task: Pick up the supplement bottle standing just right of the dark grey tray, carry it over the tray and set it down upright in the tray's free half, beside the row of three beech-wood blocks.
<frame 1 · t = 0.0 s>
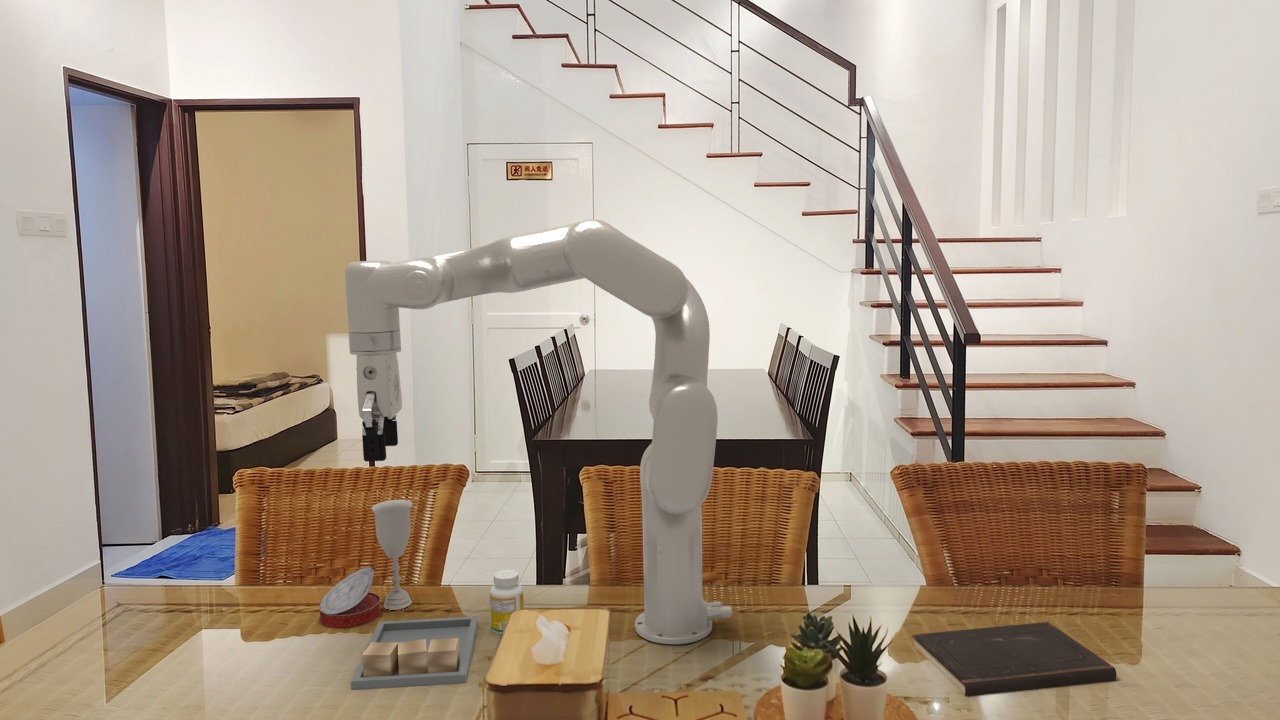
hand: (381, 452, 136), 31 cm above the table, tool pointing down, fingers open, 9 cm apart
supplement bottle: (508, 631, 145), on the table
block a: (444, 670, 130), point 1 cm above the table, touching tray
hardcover book: (1009, 666, 131), on the table
block c: (382, 674, 129), point 1 cm above the table, touching block b, tray
chalice: (397, 605, 156), on the table
tray: (419, 657, 135), on the table
block b: (413, 672, 129), point 1 cm above the table, touching block c, tray
canned food: (350, 621, 150), on the table
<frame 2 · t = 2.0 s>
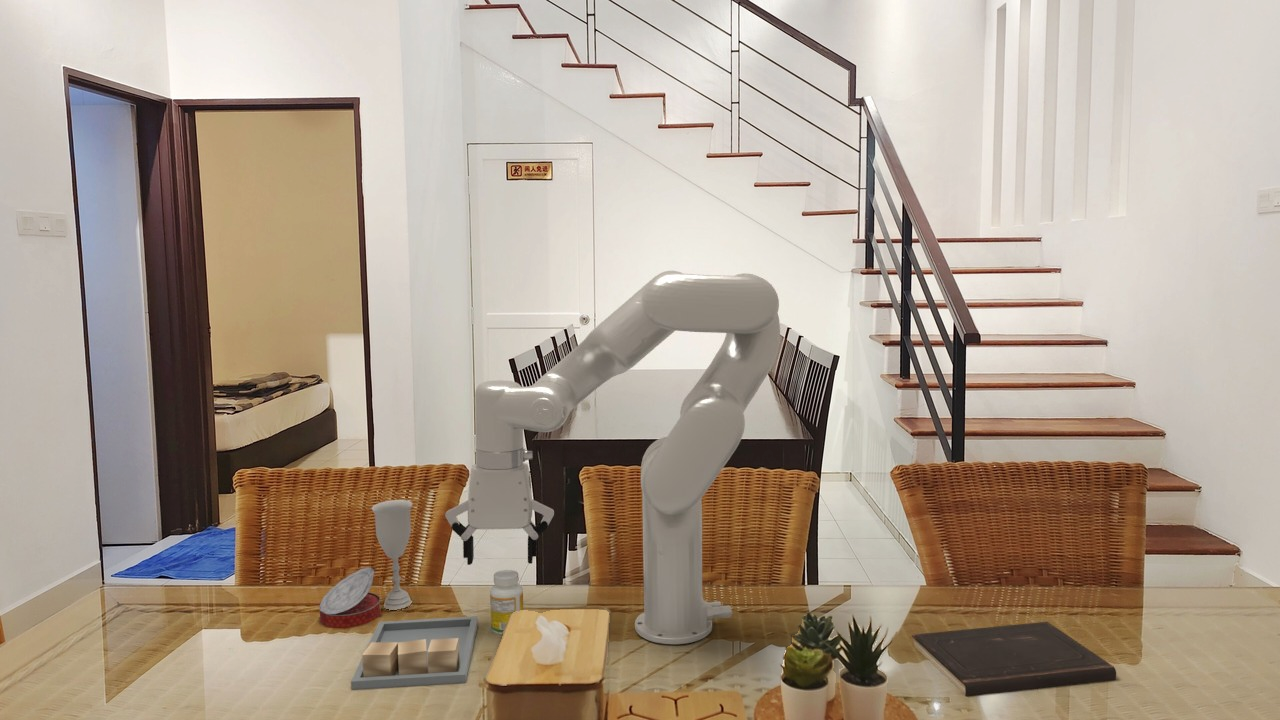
hand: (500, 561, 143), 12 cm above the table, tool pointing down, fingers open, 9 cm apart
nothing on the table moved.
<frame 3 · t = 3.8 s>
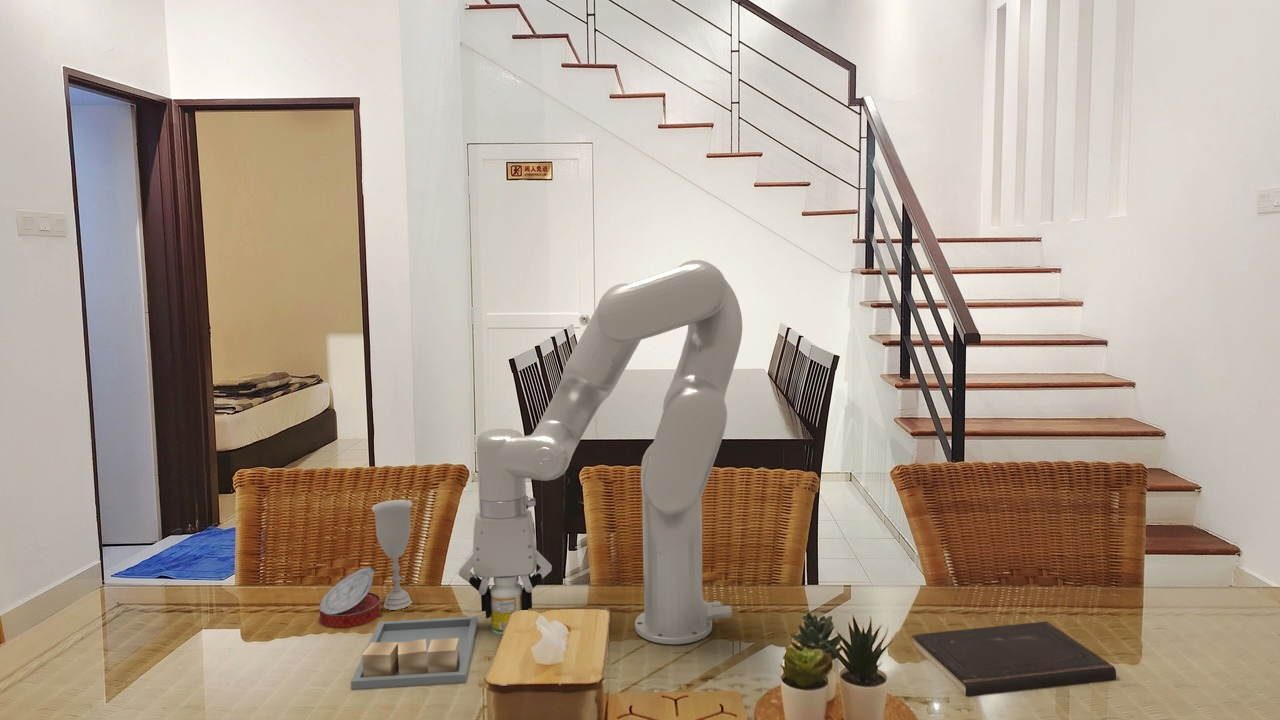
hand: (507, 612, 144), 3 cm above the table, tool pointing down, fingers closed on supplement bottle, 5 cm apart
supplement bottle: (508, 631, 145), on the table, touching gripper
everything else where it was.
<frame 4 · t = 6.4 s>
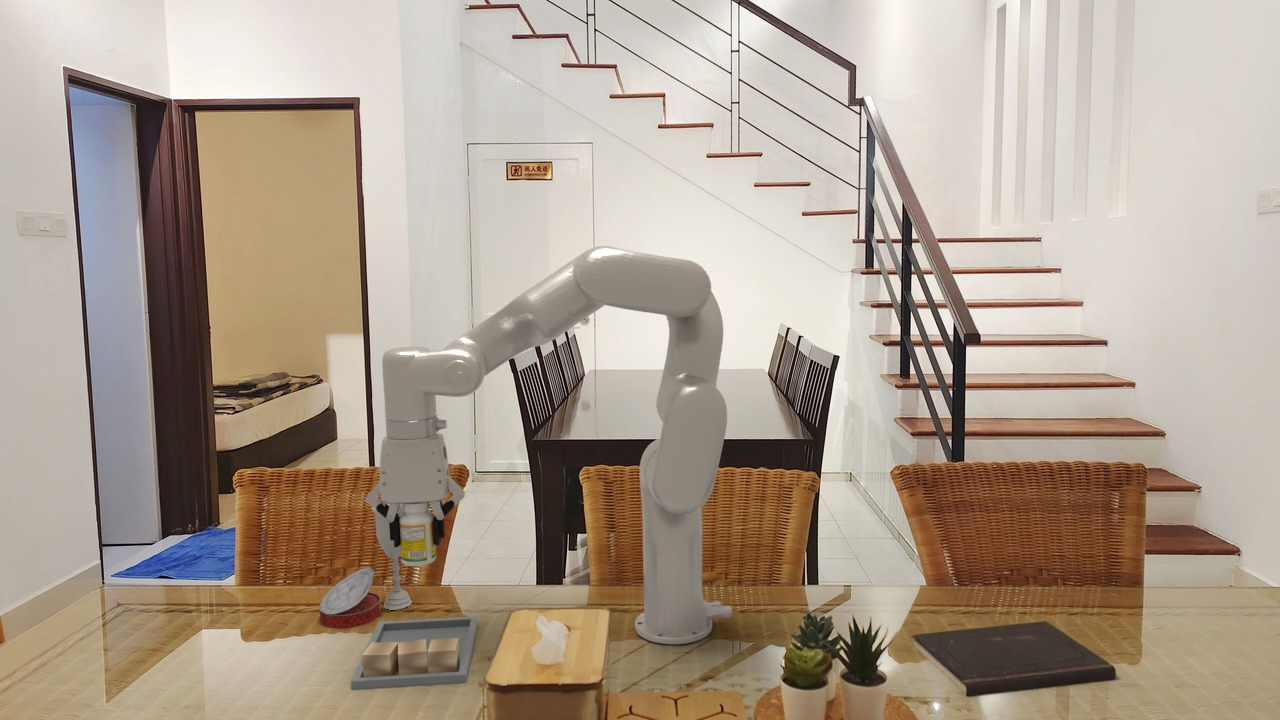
hand: (418, 542, 136), 17 cm above the table, tool pointing down, fingers closed on supplement bottle, 5 cm apart
supplement bottle: (419, 561, 137), point 14 cm above the table, touching gripper
everything else where it was.
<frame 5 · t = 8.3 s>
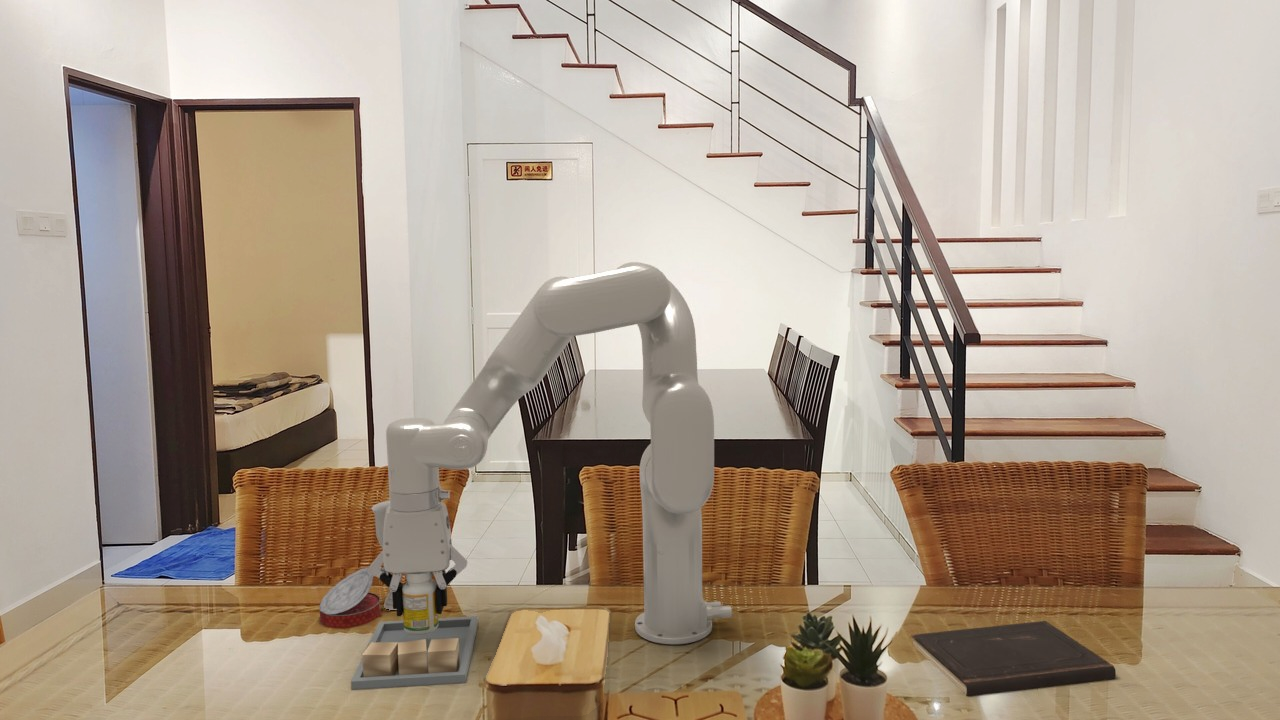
hand: (420, 610, 138), 6 cm above the table, tool pointing down, fingers closed on supplement bottle, 5 cm apart
supplement bottle: (421, 629, 138), point 3 cm above the table, touching gripper
everything else where it was.
when the fingers open (5 cm above the table, at t = 9.5 s): supplement bottle drops 1 cm, resting on tray.
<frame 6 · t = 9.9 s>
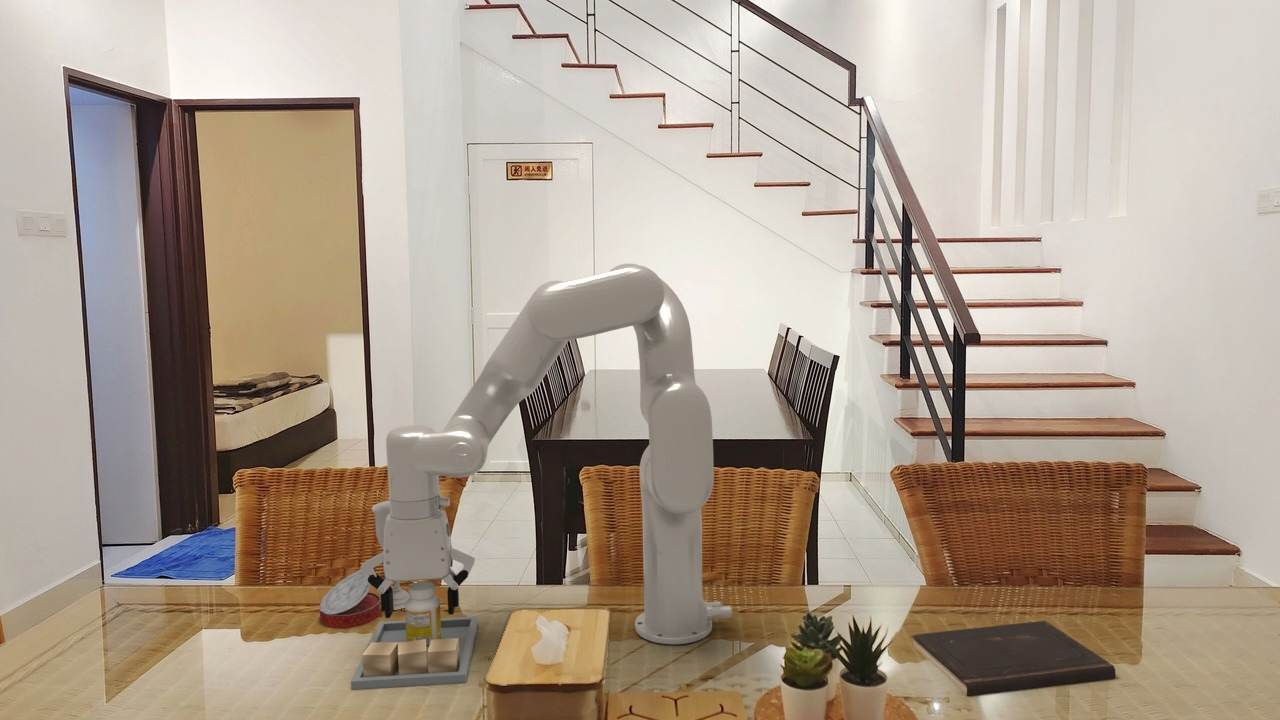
hand: (420, 612, 138), 6 cm above the table, tool pointing down, fingers open, 9 cm apart
supplement bottle: (424, 645, 138), resting on tray
everything else where it was.
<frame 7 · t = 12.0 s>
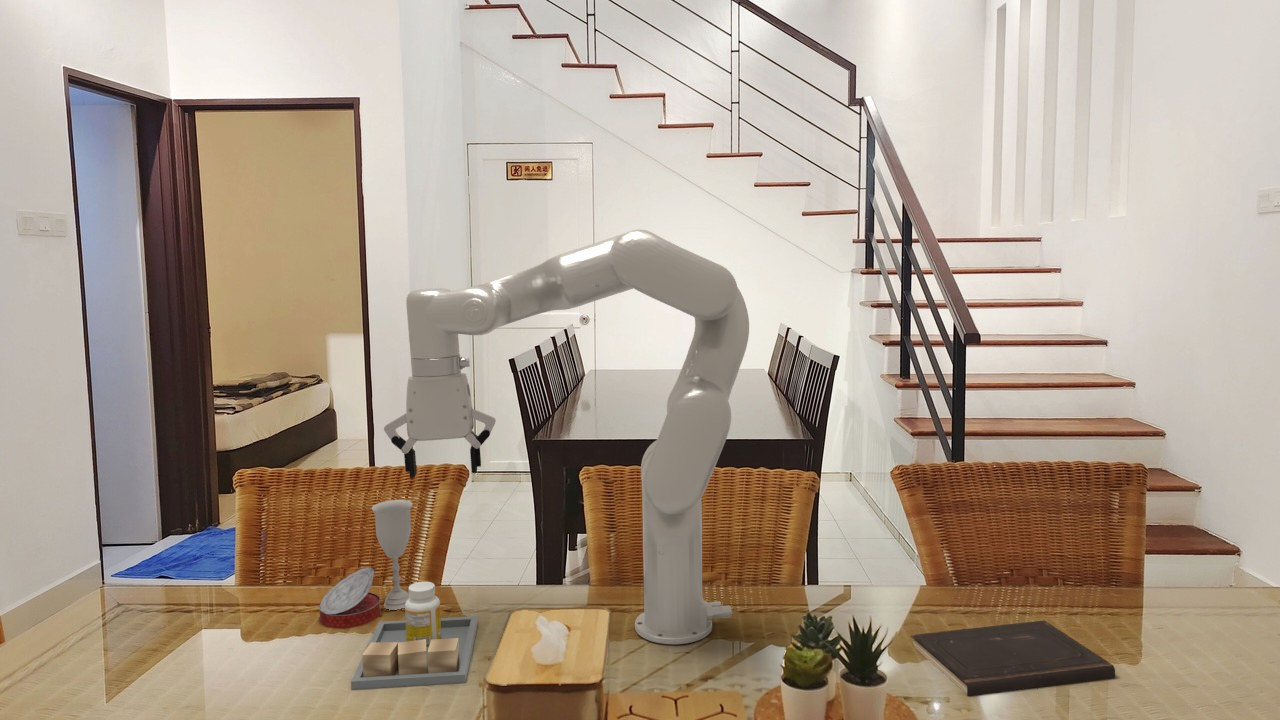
hand: (444, 473, 141), 27 cm above the table, tool pointing down, fingers open, 9 cm apart
nothing on the table moved.
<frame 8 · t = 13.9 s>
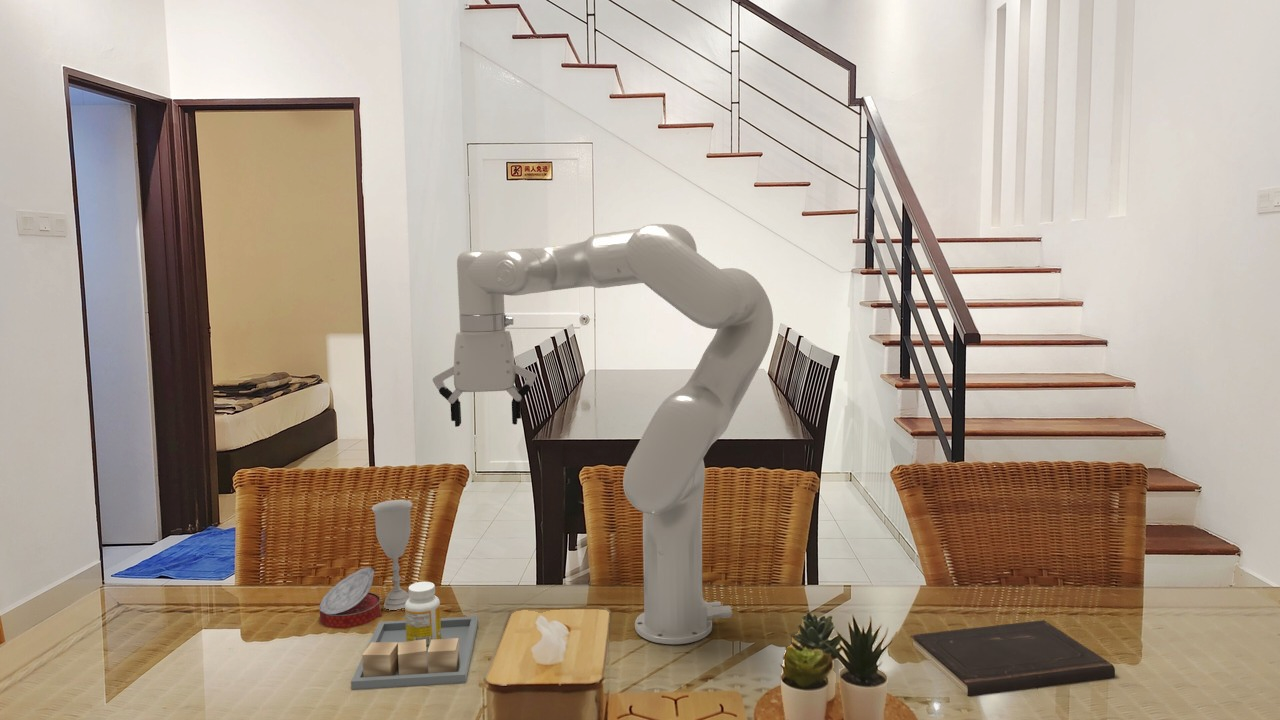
hand: (486, 424, 151), 32 cm above the table, tool pointing down, fingers open, 9 cm apart
nothing on the table moved.
at the end: supplement bottle inside the target area on the tray (3.0 cm from its centre), point 0.4 cm above the tray's base; supplement bottle tilted 0°; the gripper is holding nothing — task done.
